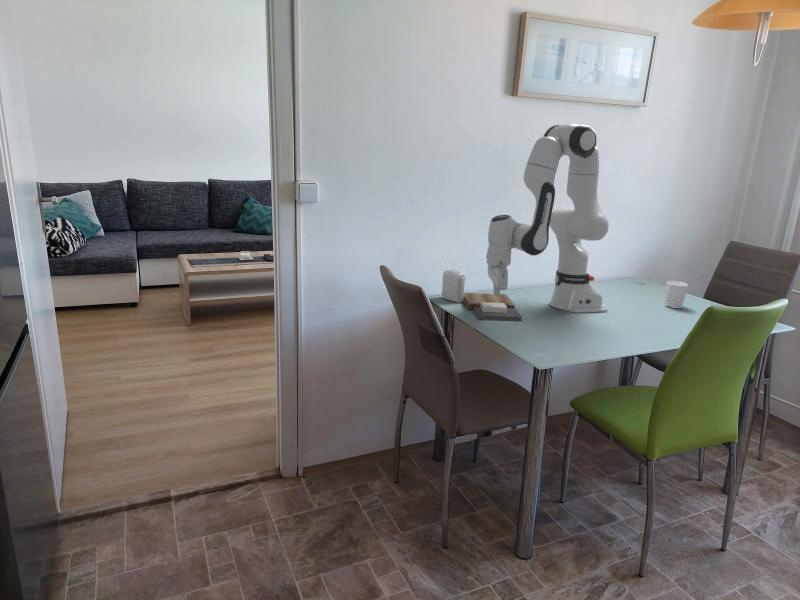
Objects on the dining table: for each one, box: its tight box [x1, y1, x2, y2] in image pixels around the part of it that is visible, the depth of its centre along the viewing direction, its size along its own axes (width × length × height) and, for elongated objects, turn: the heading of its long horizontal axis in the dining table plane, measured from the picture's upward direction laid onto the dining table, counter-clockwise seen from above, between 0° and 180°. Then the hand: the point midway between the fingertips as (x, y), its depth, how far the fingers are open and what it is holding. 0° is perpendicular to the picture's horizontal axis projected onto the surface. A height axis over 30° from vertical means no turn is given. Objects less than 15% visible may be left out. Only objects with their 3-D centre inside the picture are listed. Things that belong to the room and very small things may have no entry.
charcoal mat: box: [473, 307, 523, 322], centre depth 219 cm, size 16×11×2 cm
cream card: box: [481, 302, 507, 313], centre depth 220 cm, size 9×6×2 cm, turn 91°
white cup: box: [664, 280, 689, 308], centre depth 240 cm, size 8×8×10 cm
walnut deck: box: [463, 292, 516, 311], centre depth 232 cm, size 18×16×2 cm
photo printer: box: [441, 269, 466, 304], centre depth 236 cm, size 10×4×12 cm, turn 38°
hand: (496, 294), depth 220 cm, fingers closed
